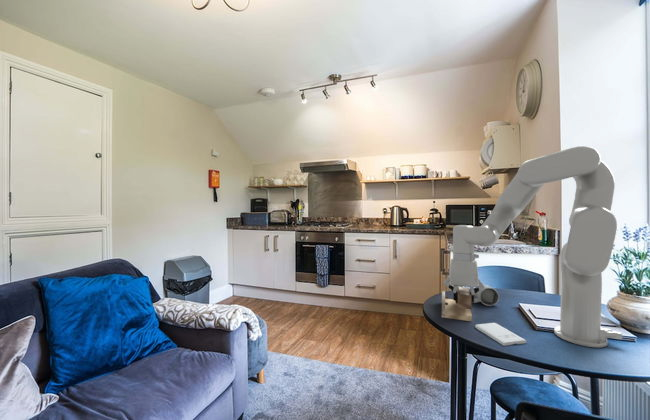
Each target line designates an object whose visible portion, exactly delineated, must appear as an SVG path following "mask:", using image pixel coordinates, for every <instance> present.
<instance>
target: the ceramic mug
mask: <svg viewBox="0 0 650 420" xmlns="http://www.w3.org/2000/svg"><path fill="white" fill-rule="evenodd" d="M482 284H483V283H482ZM483 285H484V288H483V289H481V290H479V291H478V292H477V293H476V294H475V295H474V303H473V302H472V304H476V303H480V302H481V304H483V305H484V306H487V307H493V306H495V305H497V304H498V303H499V300H500V294H499V292H498V291H497V290H496V289H495V288H493V287H491V286H490V285H488V284H483ZM478 286H479V284H478ZM478 286H477V287H478Z"/></svg>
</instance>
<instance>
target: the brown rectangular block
mask: <svg viewBox="0 0 650 420" xmlns="http://www.w3.org/2000/svg"><path fill="white" fill-rule="evenodd" d="M470 291H471V290H470V287H464V286H458V287H457V294H458V303H457V304H458V308H461V309H470V310H472V305H471V294H470Z"/></svg>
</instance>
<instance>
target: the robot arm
mask: <svg viewBox="0 0 650 420" xmlns="http://www.w3.org/2000/svg"><path fill="white" fill-rule="evenodd" d="M570 178H573V180H574V182H575V184H576V185H575V187H576V188H575V193H574V194H575V195H574V201H573V205H572V209H571V212H570V216H569V218H568V224H569V226H570V227H569V232H568V233H569V234H568V238H567V242H565V243H564V245H563V246H562V248H561V251H560V272H561V274H560V275H561V276H560V315H559V316H560V322H559V323H560V324H559V325H557V326H555V327H554V329H553V331H554V334H555V335H556V336H557V337H559V338H560V339H562V340H564V341H567V342H569V343H572V344H576V345H579V346H583V347H588V348H604V347H607V346H608V339H609V338H612V339H615V340H616V339H617V340H623V334H622V332H618V331H613V330H612V329H610V328H604V327H602V326H601V324H602V323H601V322H602V293H603V292H602V291H603V288H602V286H603V281H602V279H603V277H602V273H603V272H604V271H606V269H607V267H608V266H609V263H610V259H611V256H612V252H613V248H614V244H615V240H616V235H617V231H618V230H617V229H618V224H617V219H616V217H615V216H616V215H614V213H613V212H612V211H611V210H612V205H613V201H614V200H613V198H614V193H615V184H616V183H615V177H614V174H613V172H612V170H611V169H610V167H609V166H608V165H607V163H605V162H604V161H602V160H601V154H600V152H599V151H598V150H597V149H596V148H594V147H591V146H587V145H578V146H574V147H570V148H566V149H563V150H560V151H555V152H553V153H550V154H546V155H543V156H539V157H536V158H532V159H529V160H526V161H524V162H523V163H522V164H521V165H520V166H519V168H518V171H517V172H516V174H515V175H514V177H513V178H512V179H511V181H510V182H509V184H508V185H507V186H506V188H505V189H504V190H503V191H502V193H501V194H500V195H499V197H498V199H497V201H496V202H495V206H494V208H493V209H492V211H491V212H490V214H489V215H488V216H487V218H486V219H485V220H484V222H483V223H482V224H481V226H473V225H470V224H469V225H467V224H458V225H454V226H453V228H452V258H451V259H450V260H449V261H450V262H449V273H448V277H446V279H445V280H444V282H443V285H444V286H445V287H447V288H449V290H450V291H452V293H453V300H455V302H456V303H458V294H457V287H467V288H469V291H470V294H471V306H473V304H475V303H474V299H475V298H474V295H475V294H476V293H477V292H478V291H479V290H481V289H483V288H484V285H485V284H484V285H483V282H482V281H481V280H480V279H479V268H478V263H477V260H476V259H479V258H480V255H479V254H477V253H475V246H479V247H484V248H485V247H486V248H487V247H491V246H492V245H493V246H494V244H495V243H497V241H498V240H499V238H501V236H502V234H504V232H505V231H506V230H507V228H508V227H509V226H510V225H511V224H512V223H513V222H514V220H515V219H516V218H517V217H518V216H519V215H521V213H522V212H523V211H524V210H525V208H526V207H527V206H528V205H529V203H530V202H531V201H532V200H533V198H534V197H535V196H536V194H537V193H538V192H539V191H540V190H541V188H542V187H543V186H544V185H545V184H550V183H553V182H557V181H561V180H567V179H570ZM478 285H479V286H478ZM477 286H478V287H477ZM472 302H473V303H472Z"/></svg>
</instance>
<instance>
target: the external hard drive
mask: <svg viewBox="0 0 650 420" xmlns="http://www.w3.org/2000/svg"><path fill="white" fill-rule="evenodd" d="M474 326H475V327H474V328H475V329H477V330H478V331H480V332H481V333H483V334H484V335H485V336H487V337H489V338H491V339H492V340H494V341H495V342H497V343H499V344H500V345H502V346H513V345H520V344H527V339H524V338H523V337H521V336H519V335H517V333H514V332H512V331H511V330H510V329H509V330H508V329H507V328H506V327H503V326H501V325H500V324H499V323H497V322H487V323H477V324H475V325H474Z"/></svg>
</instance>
